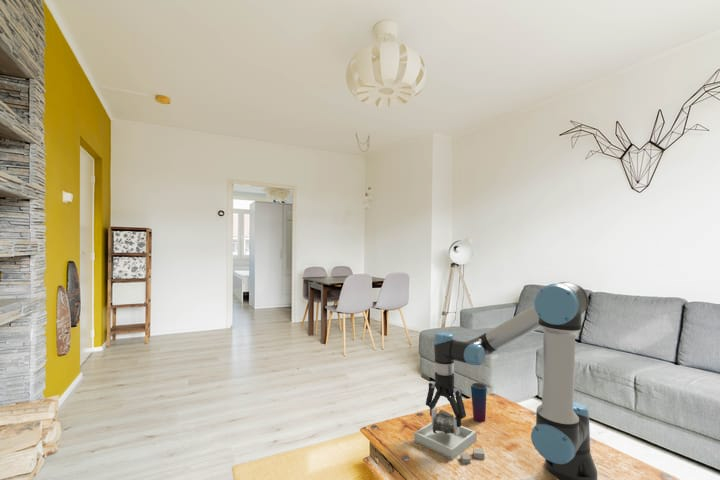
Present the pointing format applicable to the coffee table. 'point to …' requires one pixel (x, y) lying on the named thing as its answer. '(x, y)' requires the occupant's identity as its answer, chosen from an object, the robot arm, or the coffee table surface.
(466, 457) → the chip
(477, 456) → the grey small block
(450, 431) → the rock
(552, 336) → the robot arm
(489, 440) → the coffee table surface
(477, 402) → the cup
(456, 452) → the bin
